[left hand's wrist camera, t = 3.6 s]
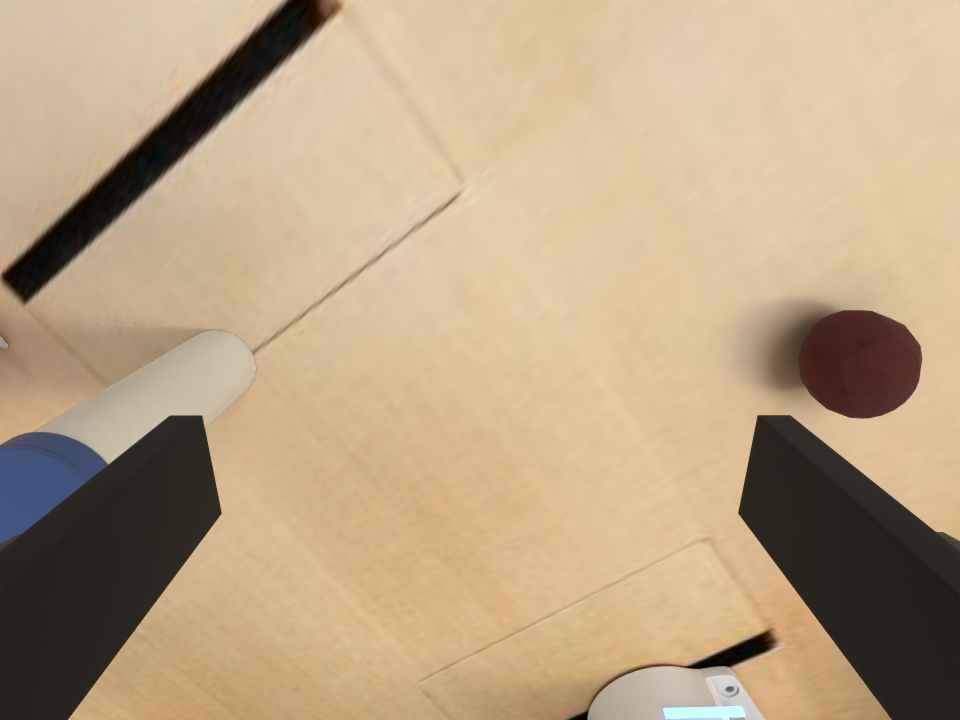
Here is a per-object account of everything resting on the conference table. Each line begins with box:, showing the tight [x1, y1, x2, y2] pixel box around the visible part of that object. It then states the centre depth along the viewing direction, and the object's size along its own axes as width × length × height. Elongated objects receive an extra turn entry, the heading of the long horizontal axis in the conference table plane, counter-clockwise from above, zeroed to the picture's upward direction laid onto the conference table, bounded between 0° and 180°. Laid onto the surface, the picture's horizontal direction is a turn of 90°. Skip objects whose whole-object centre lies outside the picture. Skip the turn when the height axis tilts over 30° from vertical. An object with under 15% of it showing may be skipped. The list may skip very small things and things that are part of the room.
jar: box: [33, 330, 256, 464], centre depth 33 cm, size 6×6×18 cm
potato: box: [799, 310, 922, 418], centre depth 38 cm, size 7×8×7 cm
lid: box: [0, 432, 108, 543], centre depth 25 cm, size 6×6×2 cm
